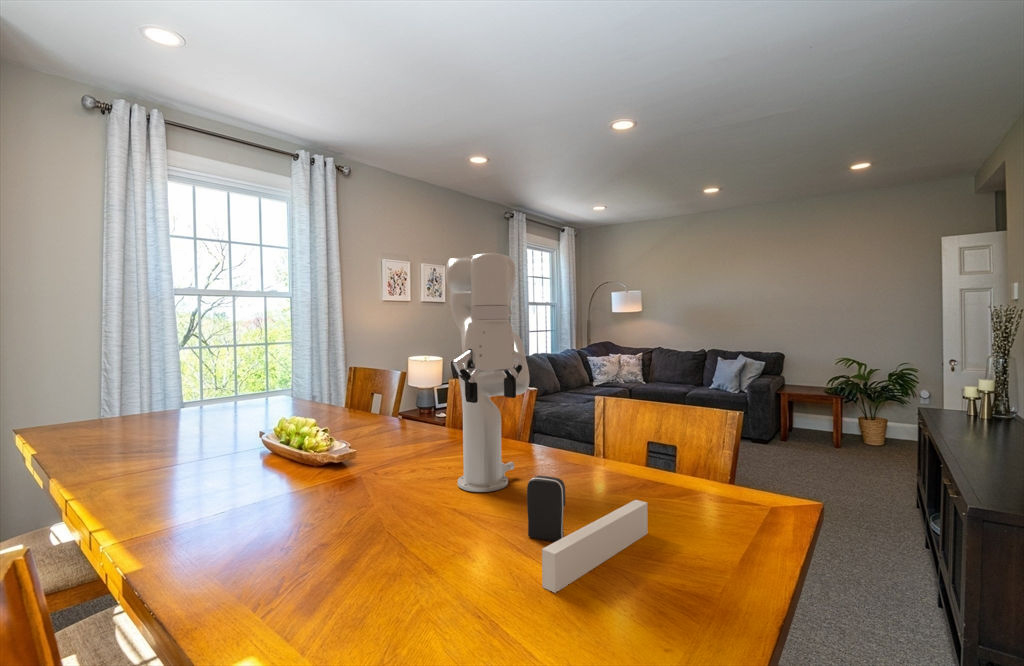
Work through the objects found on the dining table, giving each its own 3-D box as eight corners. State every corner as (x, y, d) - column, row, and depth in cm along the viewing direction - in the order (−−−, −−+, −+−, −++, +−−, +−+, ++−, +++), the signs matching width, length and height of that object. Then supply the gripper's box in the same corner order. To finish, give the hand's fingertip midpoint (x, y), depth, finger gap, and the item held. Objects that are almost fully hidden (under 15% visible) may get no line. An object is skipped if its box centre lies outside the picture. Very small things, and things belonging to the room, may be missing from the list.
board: (635, 529, 97) (635, 499, 97) (647, 533, 96) (647, 502, 95) (542, 587, 77) (542, 548, 77) (554, 593, 75) (554, 554, 75)
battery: (567, 535, 95) (567, 476, 95) (561, 544, 92) (561, 482, 91) (533, 530, 98) (533, 472, 97) (526, 538, 94) (525, 478, 94)
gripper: (511, 316, 110) (512, 394, 110) (443, 315, 99) (445, 402, 99) (534, 315, 104) (535, 397, 104) (464, 314, 93) (466, 406, 93)
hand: (491, 399), depth 101 cm, fingers open, 9 cm apart
